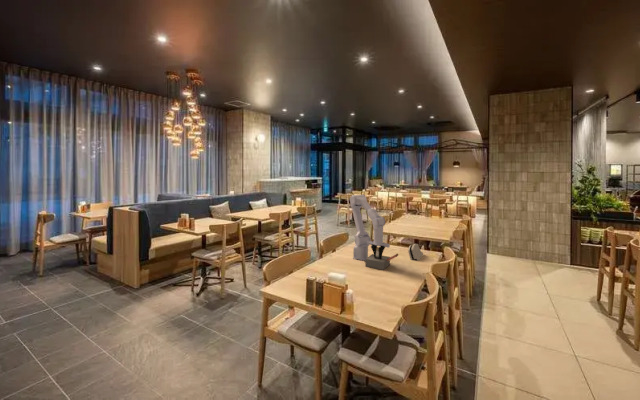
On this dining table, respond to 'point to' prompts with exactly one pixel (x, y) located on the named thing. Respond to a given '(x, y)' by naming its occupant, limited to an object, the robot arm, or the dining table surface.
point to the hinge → (415, 252)
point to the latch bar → (392, 257)
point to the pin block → (377, 262)
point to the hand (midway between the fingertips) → (377, 256)
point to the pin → (377, 253)
